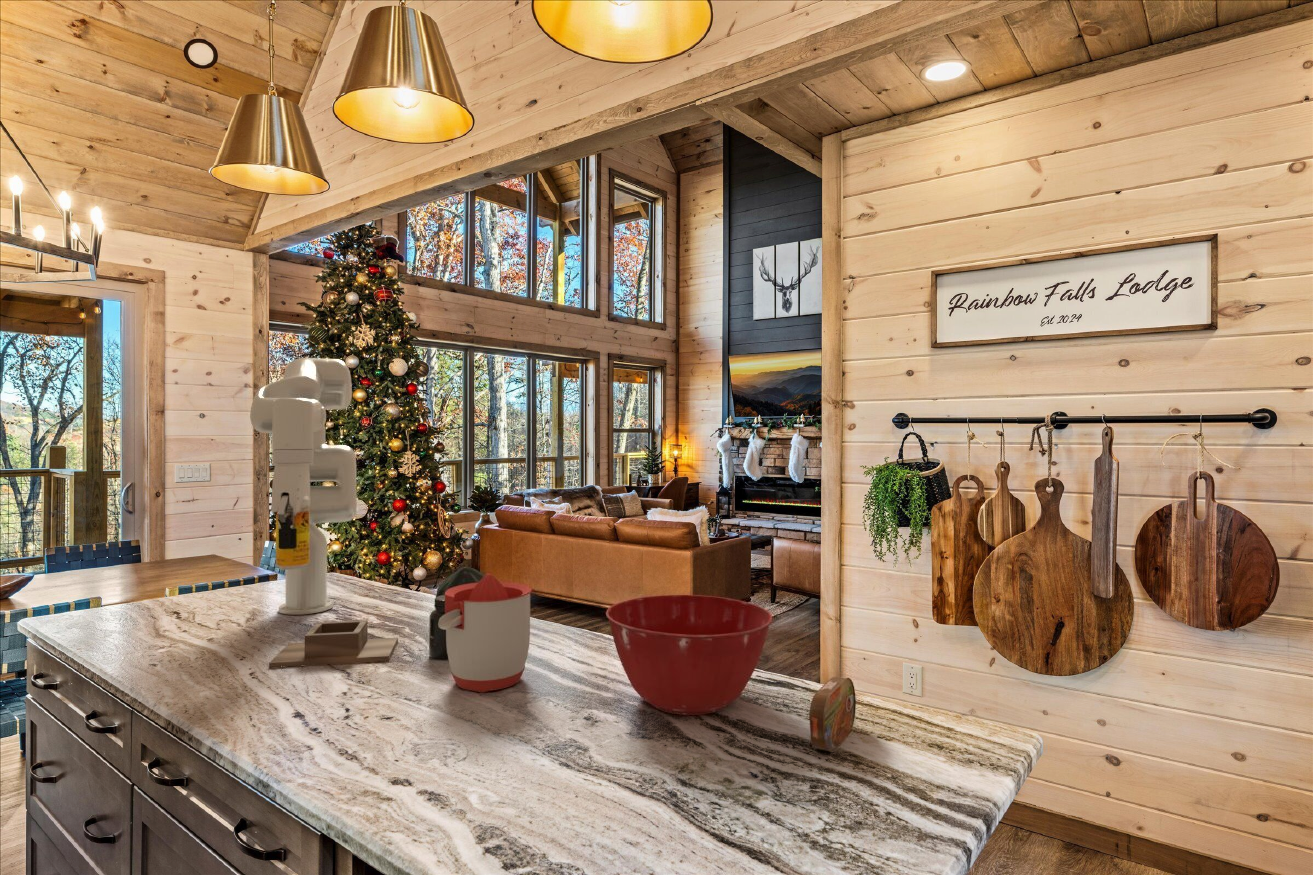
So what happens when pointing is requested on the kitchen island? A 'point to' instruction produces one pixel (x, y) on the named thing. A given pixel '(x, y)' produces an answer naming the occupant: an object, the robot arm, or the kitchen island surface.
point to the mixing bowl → (688, 649)
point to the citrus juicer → (487, 633)
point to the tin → (832, 713)
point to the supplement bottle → (437, 631)
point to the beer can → (300, 554)
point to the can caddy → (336, 646)
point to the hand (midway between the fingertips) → (293, 545)
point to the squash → (460, 579)
